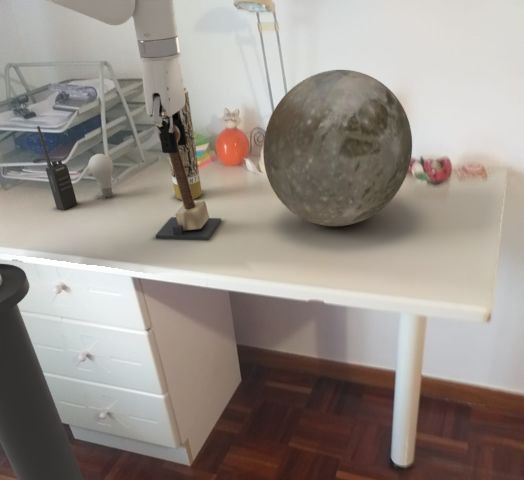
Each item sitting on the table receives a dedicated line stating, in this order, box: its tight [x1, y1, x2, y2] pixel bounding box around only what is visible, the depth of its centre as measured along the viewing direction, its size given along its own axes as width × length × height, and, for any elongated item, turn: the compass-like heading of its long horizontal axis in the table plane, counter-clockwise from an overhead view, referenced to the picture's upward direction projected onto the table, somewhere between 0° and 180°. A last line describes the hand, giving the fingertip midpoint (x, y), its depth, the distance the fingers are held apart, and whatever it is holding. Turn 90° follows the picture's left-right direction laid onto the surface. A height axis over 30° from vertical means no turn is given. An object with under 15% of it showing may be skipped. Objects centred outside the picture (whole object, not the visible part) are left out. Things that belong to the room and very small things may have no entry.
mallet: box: [157, 123, 210, 231], centre depth 120 cm, size 22×6×5 cm
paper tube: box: [162, 86, 203, 201], centre depth 137 cm, size 7×7×25 cm
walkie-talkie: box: [36, 125, 78, 211], centre depth 139 cm, size 5×3×20 cm
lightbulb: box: [88, 153, 114, 198], centre depth 145 cm, size 6×6×11 cm
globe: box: [262, 69, 413, 227], centre depth 116 cm, size 30×30×30 cm
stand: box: [155, 216, 222, 241], centre depth 126 cm, size 12×10×2 cm
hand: (174, 147), depth 116 cm, fingers closed on mallet, 4 cm apart
